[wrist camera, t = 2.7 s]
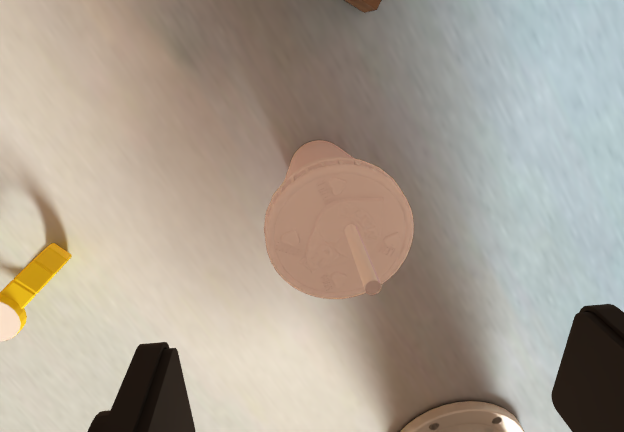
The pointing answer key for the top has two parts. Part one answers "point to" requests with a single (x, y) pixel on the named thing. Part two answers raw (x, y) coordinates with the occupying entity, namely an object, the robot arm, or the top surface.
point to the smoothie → (337, 224)
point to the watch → (28, 288)
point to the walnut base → (365, 4)
